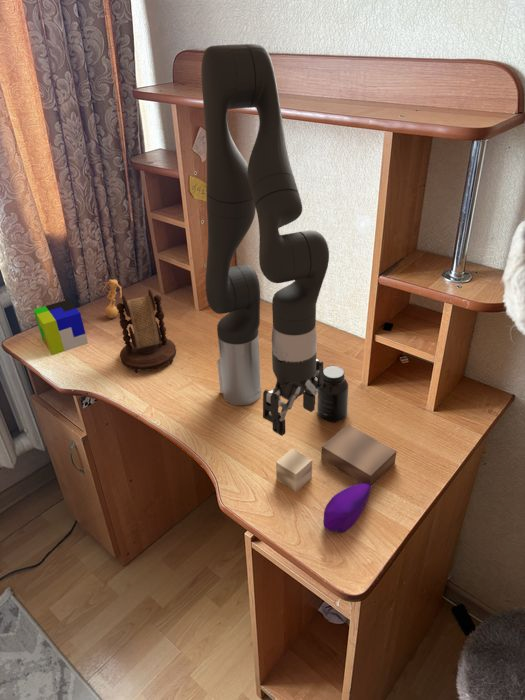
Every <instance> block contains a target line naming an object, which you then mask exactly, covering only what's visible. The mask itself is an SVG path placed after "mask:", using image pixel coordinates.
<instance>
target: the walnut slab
mask: <svg viewBox="0 0 525 700" xmlns="http://www.w3.org/2000/svg"><path fill="white" fill-rule="evenodd" d="M396 458H397V450H395V448H392V447H391V446H388V445H387V444H385V443H383V442H382V441H379V440H378V439H376V438H374V437H373V436H370V435H369V434H366V433H365V432H363V431H362V430H359V429H358V428H356V427H354V426H352V425H351V424H347V425H345V426H344V427H343V428H341V430H339V431H338V432H337V433H335V434H334V435H333V436H332V437H331V438H330V439H329V440H327V441H325V443H323V445H321V455H320V459H321V460H322V461H324V462H325V463H327V464H328V465H330V466H332V467H333V468H335V469H336V470H338V471H339V472H341V473H343V474H344V475H346V476H348V477H349V478H351V479H352V480H355V481H356V482H357V483H358V484H362V483H370V484H371V488H372V487H373V486H374V485H375V484H376V483H377V482H378V481H379V480H380V479H381V478H382V477H383V476H384V475H385V474H386V473H387V472H388V471H389V470H390V469H391V468H392V467H394V466H395V463H396Z"/></svg>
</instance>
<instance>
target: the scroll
mask: <svg viewBox="0 0 525 700" xmlns="http://www.w3.org/2000/svg"><path fill="white" fill-rule="evenodd" d="M147 292H148V294H147V296H142V297H138V298H132V299H128V300H127V299H126V296H125V294H122V303H121V302H119V303H117V304H116V307H117V310H118V314H119V325H120V328H121V329H122V335H123V337H122V340H123V341H124V344H125V345H124V346H123V347H122V349H121V350H120V353H119V357H120V362H121V364H122V365H123V366H124V367H125V368H128V369H130V370H133V372H134V373H135V374H137V373H138V371H151V370H156V369H159V368H161V367H163V366H166V365H168V364H172V363H173V359H174V358H175V357H176V354H177V347H176V345H175V343H174V341H172V340H171V339H169V338H168V337H167V336H166V335H167V333H166V331H167V327H166V326H165V324H166V323H165V322H164V319H165V314H164V311H163V308H162V307H163V306H162V305H161V304H162V297H161V295H159V294H155V295H154V294H153V291H152V290H151V289H150V288H148V291H147ZM155 311H156V312H155ZM125 314H126V315H125ZM126 317H128V318H130V319H126ZM157 320H158V321H157ZM129 325H130V326H129ZM131 325H132V326H131ZM128 326H129V327H128Z"/></svg>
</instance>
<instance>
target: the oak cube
mask: <svg viewBox="0 0 525 700" xmlns="http://www.w3.org/2000/svg"><path fill="white" fill-rule="evenodd" d="M275 470H276V473H275V474H276V477H275V478H276V481H277V482H278V481H279V482H280V483H281V484H283V485H284V486H286V487H287V488H289V489H290V490H291V491H293V492H295V493H297V492H298V491H299V490H300V489H301V488H302V487H304V485H306V484H307V482H309V481H310V480H312V478H313V477H312V476H313V459H311V458H310V457H308V456H306V455H304V453H301V452H300V451H298V450H297V449H294V448H293V447H292V448H291V449H290V450H289V451H287V452H286V453H285V454H284V455H282V456H281V457H280V458H279V459H277V461H276V462H275Z"/></svg>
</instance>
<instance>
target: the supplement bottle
mask: <svg viewBox="0 0 525 700" xmlns="http://www.w3.org/2000/svg"><path fill="white" fill-rule="evenodd" d="M323 377H324V384H323V387H322V388H318V389H317V390H318V392H317V407H316V408H317V415H318V416H319V418H320V419H321V420H323V421H325V422H327V423H339V422H341V421H343V420H345V418H346V417H347V414H348V404H349V403H348V402H349V382H348V381H347V380H346V379H347V378H346V377H345V371H344V369H343V368H342V367H340V366H338V365H328V366H326V367H323Z"/></svg>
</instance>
